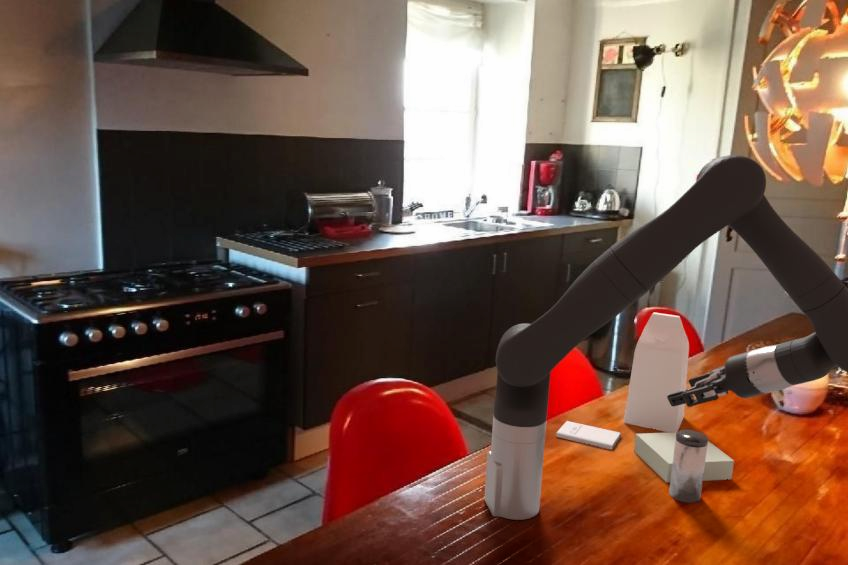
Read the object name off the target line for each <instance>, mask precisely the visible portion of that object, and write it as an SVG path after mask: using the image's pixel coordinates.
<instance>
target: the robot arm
mask: <svg viewBox="0 0 848 565" xmlns="http://www.w3.org/2000/svg"><path fill="white" fill-rule="evenodd" d="M766 186H767V176H766V174H765V171H764V169H763V167H762V166H761V165H760V163H758V162H757V161H756V160H754V159H752V158H750V157H747V156H745V155H737V154H732V155H730V154H729V155H724V156H720V157H717V158H716V157H715V158H714V159H712V160H710V161H708V162H707V163H706V164H705V165H704V166H702V168H701V169H700V171H699V172H698V174H697V177H696V180H695V182H694V183H693V185H692V186H691V187H690V188H689V189H688V190H687V191H686V192H684V193H683V194H682V195H681V197H679V198H678V199H677V200H676V201H675V202H674V203H673V204H671V206H669V207H668V208H666V210H664V211H663V212H662V213H660V214H658V215H657V216H655V217H654V218H652V219H651V220H649V221H647V222H646V223H644V224H642V225H640V226H639V227H637V228H636V229H634V230H633V231H631V232H630V233H627V234H626V235H624V237H622V238H621V239H619V240H618V241H617V242H615V243H614V244H612V245H611V246H610V247H608V249H607V250H605V251H604V252H603V253H602V254H601V255H599V256H598V257H597V258H596V259H594V260H593V262H591V263H590V264H589V265H588V266H587V267H586V268H585V269H584V270H583V271H582V272H581V273H580V275H578V277H577V278H576V279H575V280H574V281H573V283H572V284H571V285H570V286H569V287H568V289H567V290H566V291H565V292H564V294H563V295H562V296H561V297H560V298H559V299H558V301H557V302H556V303H555V304H554V305H553V306H551V308H550V309H549V310H548V311H546V312H545V313H543V315H541V316H540V317H538V318H537V319H536V320H535V321H533V322H531V323H528V322H527V323H525V322H524V323H518V324H516V325H513V326H511V327H510V328H508V329H507V330H506V331H505V332H504V334H502V337H501V338H500V340H499V343H498V346H497V349H496V354H495V366H496V370H497V373H496V386H495V393H494V401H493V412H492V413H493V415H492V429H491V431H492V432H491V446H490V448H491V449H490V451H489V450H488V451H487V454H486V469H485V483H484V484H485V485H484V498H483V499H484V501H485V504H486V505H487V507H488V510H489V511H490V514H491V516H492V517H500V518H504V519H508V520H516V521H519V520H528V519H531V518H533V517H535V516H537V515H538V513H539V511H540V504H541V492H542V480H543V469H544V468H543V467H544V455H545V445H546V444H545V443H546V432H547V421H548V420H547V418H548V410H549V408H548V407H549V397H550V383H551V382H550V381H551V372H552V371H553V370H554V369H555V368H556V367H557V366H558V364H560V363H561V361H563V359H565V358H566V357H567V356H568V355H569V354H570V353H571V352H572V351H573V350H574V349H575V348H576V347H577V346H578V345H579V344H580V343H582V342H583V341H584V340H585V339H587V338H588V337H590V336H591V335H593V334H594V333H596V332H597V331H598V330H599V329H601V328H602V327H604V326H605V325H606V324H608V323H609V322H611V321H612V320H614V318H616V317H617V316H619V315H620V314H621V313H623V312H625V310H627V309H628V308H629V307H631V306H632V305H633V304H634V303H636V302H637V301H638V300H639V299H641V298H642V297H643V296H644V295H645V294H647V293H648V292H649V291H651V290H652V289H653V288H654V287H655V286H656V285H657V284H659V282H661V281H662V280H663V279H664V278H666V277H667V276H668V275H669V274H670V273H671V272H672V271H673V270H674V269H676V268H677V266H679V265H680V263H682V262H683V261H684V260H685V259H686V258H687V257H688V256H689V255H690V254H691V253H692V252H693V251H694V250H695V249H697V248H698V247H699V246H700V245H701V244H702V243H704V242H705V241H707V240H709V238H711V237H712V236H714V235H716V234H717V233H719V232H720V231H721V230H723V229H724V228H726V227H727V226H728V227H730V228H731V229H732V230H733V231H734V232H735V233H736V234H738V236H739V237H740V238H741V239H742V240H743V241H744V242H745V243H746V244H747V246H749V247H750V249H751V250H752V251H753V252H754V253H755V255H756V256H757V257H758V259H759V260H760V261H761V262H762V263H763V265H765V266H764V267H766V268H767V270H768V271H769V272H770V274H771V275H772V276H773V278H774V279H775V281H777V282H778V284H779V285H780V287H781V288H782V289H783V290H784V291H785V293H786V294H787V295H788V296H789V298H790V299H791V300H792V301H793V303H795V305H796V306H797V307H798V308H799V309H800V311H801V313H802V314H804V315H805V316H806V317H807V319H808V320H809V323H810V324H811V326H812V329H813V331H814V332H812V333H811V334H809V335H807V336H804V337H800V338H796V339H793V340H788V341H786V342H782V343H779V344H772V345H766V346H763V347H760V348H755V349H753V350H748V351H746V352H741V353H738V354H735V355H731V356H730V357H728V358H727V359H726V360H725V363H724V365H722V366H718V367H714V369H713V370H710V371H708V372H706V373H705V374H701V375H699V376H695V377H692V378H690V379H688V383H689V385H690V387H689V388H686V389H685V390H683V391H679V392H676V393H672V394H669V395H668V396H667V398H668V400H669V403H670V405H671V406H678V405H682V404H686V405H685V406H687V407H688V408H691V407H693V406H697V405H701V404H705V403H709V402H713V401H717V400H718V399H720V397H723V396H726V395H728V394H729V393H730V392H732V393H734V394H735V396H737V397H738V398H741V399H749V398H753V397H757V396H761V395H765V394H770V393H773V392H774V393H775V392H778V391H782V390H785V389H788V388H789V387H790V388H791V387H792V386H793V387H794V386H797V385H801V384H805V383H809V382H813V381H816V380H817V381H818V380H820V379H823V378H825V377H826V376H827V375H828V374H829V373H830V372H831V371H832V370H833V369H834V368H835V367H838V368H840V370H842V371H844V372H845V373H847V374H848V288H847V286H846V285H845V284H844V283H843V281H842V280H841V279H840V278H839V276H838V275H837V274H836V273H835V272H834V271H833V269H832V268H831V267H830V266H829V265H828V264H827V263H826V262H825V260H824V259H822V257H821V256H820V255H819V254H817V252H816V251H815V250H814V249H813V248H812V247H811V246H810V245H809V244H808V243H807V242H805V241H804V239H802V238H801V237H800V236H799V235H798V234H796V232H795V231H794V230H792V228H791V227H790V226H789V225H788V224H786V222H785V221H784V220H783V218H781V216H780V215H779V214H778V212H776V210H775V209H774V208H773V206H772V205H771V204H770V202H769V200H768V198H767V197H766V196H765V195H766V194H765V191H766V189H767V187H766ZM729 391H730V392H729ZM694 396H695V397H694Z"/></svg>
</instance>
